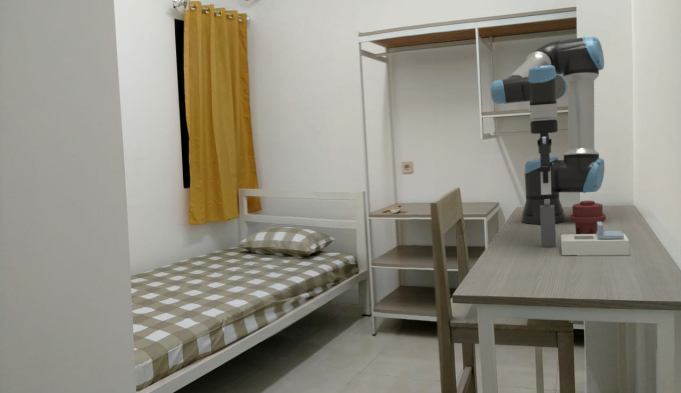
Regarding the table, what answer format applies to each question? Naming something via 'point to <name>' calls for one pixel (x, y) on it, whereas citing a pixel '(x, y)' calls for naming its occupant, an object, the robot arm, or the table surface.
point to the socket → (593, 245)
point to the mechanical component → (587, 216)
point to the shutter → (607, 233)
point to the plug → (547, 224)
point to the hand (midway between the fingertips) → (546, 191)
